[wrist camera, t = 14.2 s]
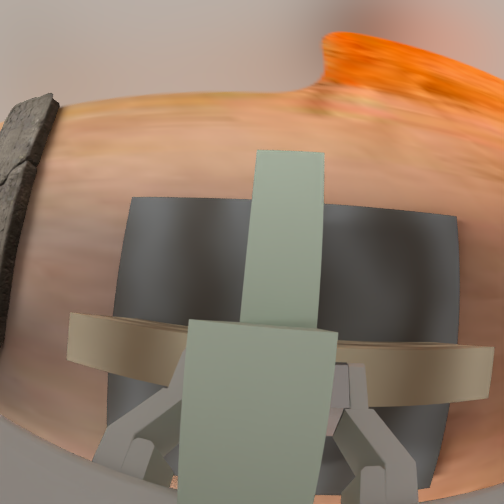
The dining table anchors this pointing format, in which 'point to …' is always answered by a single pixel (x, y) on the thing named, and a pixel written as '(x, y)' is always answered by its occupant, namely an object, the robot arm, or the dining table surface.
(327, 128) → the dining table surface
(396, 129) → the dining table surface
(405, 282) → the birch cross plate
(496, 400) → the dining table surface
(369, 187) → the dining table surface
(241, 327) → the sage slotted plate
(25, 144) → the stone slab
